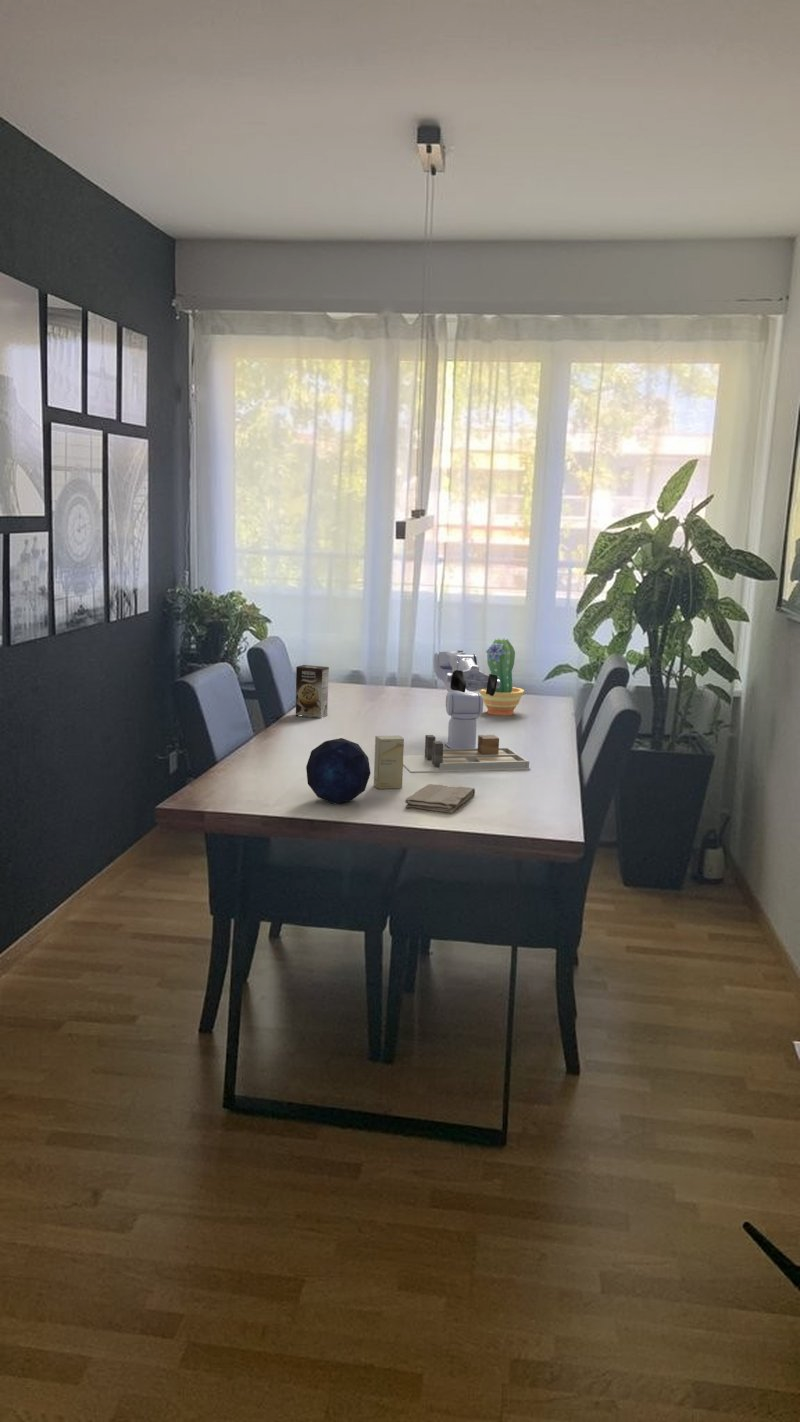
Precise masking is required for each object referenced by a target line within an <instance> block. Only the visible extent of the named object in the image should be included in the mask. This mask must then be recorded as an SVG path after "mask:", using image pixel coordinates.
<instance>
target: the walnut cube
mask: <svg viewBox="0 0 800 1422" xmlns="http://www.w3.org/2000/svg"><path fill="white" fill-rule="evenodd" d="M499 745H500V737H498V736H496V735H495V734H478V735H477V746H478V752H479V753H480V754H482V755H493V754H499V748H500V746H499Z"/></svg>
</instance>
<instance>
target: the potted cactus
mask: <svg viewBox="0 0 800 1422" xmlns="http://www.w3.org/2000/svg"><path fill="white" fill-rule="evenodd" d="M485 653H486V657H487V661H486V662H487V665H488V667H489V671H490V674H494V675H497V677H498V679H499V680H500V681H501V683H500V688H496V690H495V694H494V696H490V695H489V694H486V690H487V688H486V689H482V690H478V693H480V694H481V695H482V697H483V705H484V706H485V707H486V709H487V711H486V713H488V714H489V715H493V716H512V715H514V714H515V712H514V710H515V709H516V708H517V706H518V705H519V704H520V701H521V698H522V696H524V695H525V690H524V689H522V688H520V687H514V686H513V670H514V669H513V668H514V665H515V657H516V650H515V649H514V647H513V645H512V644H511V641H509V639H505V638H503V639H500V638H497V639H494V640H493V642H492V643H491V644H490V646H488V649H486V651H485Z"/></svg>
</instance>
